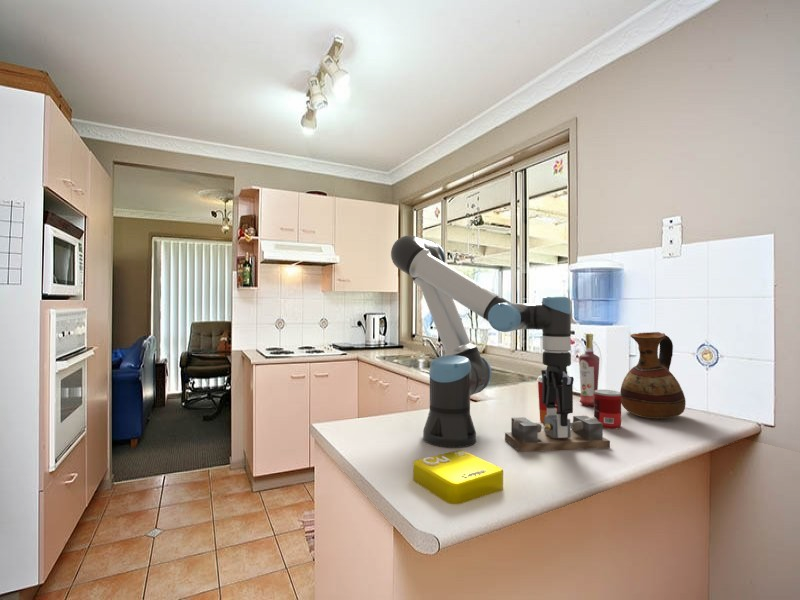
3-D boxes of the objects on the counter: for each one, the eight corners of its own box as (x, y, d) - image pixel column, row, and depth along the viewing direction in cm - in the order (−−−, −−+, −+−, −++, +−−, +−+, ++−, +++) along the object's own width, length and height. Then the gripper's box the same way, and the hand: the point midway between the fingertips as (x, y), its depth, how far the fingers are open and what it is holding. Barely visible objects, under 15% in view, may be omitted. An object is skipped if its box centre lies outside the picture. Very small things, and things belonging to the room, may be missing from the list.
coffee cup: (561, 419, 141) (561, 375, 141) (564, 426, 133) (564, 379, 133) (535, 417, 143) (535, 374, 144) (536, 424, 135) (537, 378, 136)
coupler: (563, 432, 119) (563, 414, 119) (573, 437, 114) (572, 419, 114) (542, 433, 118) (541, 415, 118) (550, 438, 113) (550, 420, 113)
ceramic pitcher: (608, 412, 152) (608, 330, 152) (641, 406, 161) (641, 329, 161) (663, 426, 134) (663, 334, 135) (697, 418, 144) (697, 332, 144)
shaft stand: (519, 451, 110) (519, 424, 110) (505, 439, 119) (505, 414, 120) (609, 448, 113) (610, 421, 113) (588, 436, 123) (588, 412, 123)
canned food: (626, 427, 133) (626, 393, 133) (608, 430, 130) (608, 395, 130) (606, 421, 140) (606, 388, 140) (588, 423, 137) (588, 390, 137)
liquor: (603, 406, 160) (603, 334, 161) (591, 408, 157) (591, 334, 157) (586, 402, 167) (587, 333, 167) (574, 404, 163) (575, 333, 163)
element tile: (452, 508, 79) (452, 483, 80) (409, 480, 92) (409, 458, 92) (507, 490, 87) (507, 467, 88) (460, 466, 100) (461, 446, 100)
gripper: (587, 354, 108) (588, 444, 108) (552, 347, 126) (553, 424, 126) (560, 355, 107) (561, 445, 107) (529, 348, 125) (529, 425, 125)
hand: (556, 433), depth 116 cm, fingers closed on coupler, 5 cm apart
